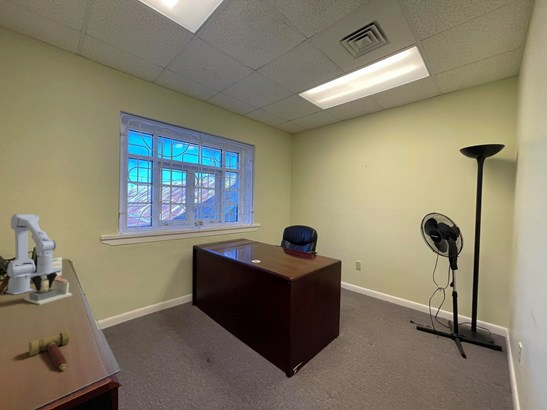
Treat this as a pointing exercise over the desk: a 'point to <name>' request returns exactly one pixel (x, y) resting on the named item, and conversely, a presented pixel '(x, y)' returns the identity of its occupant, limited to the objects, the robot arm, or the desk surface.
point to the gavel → (51, 348)
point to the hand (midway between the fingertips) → (43, 288)
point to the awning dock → (51, 293)
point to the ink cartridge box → (55, 267)
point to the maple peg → (44, 286)
